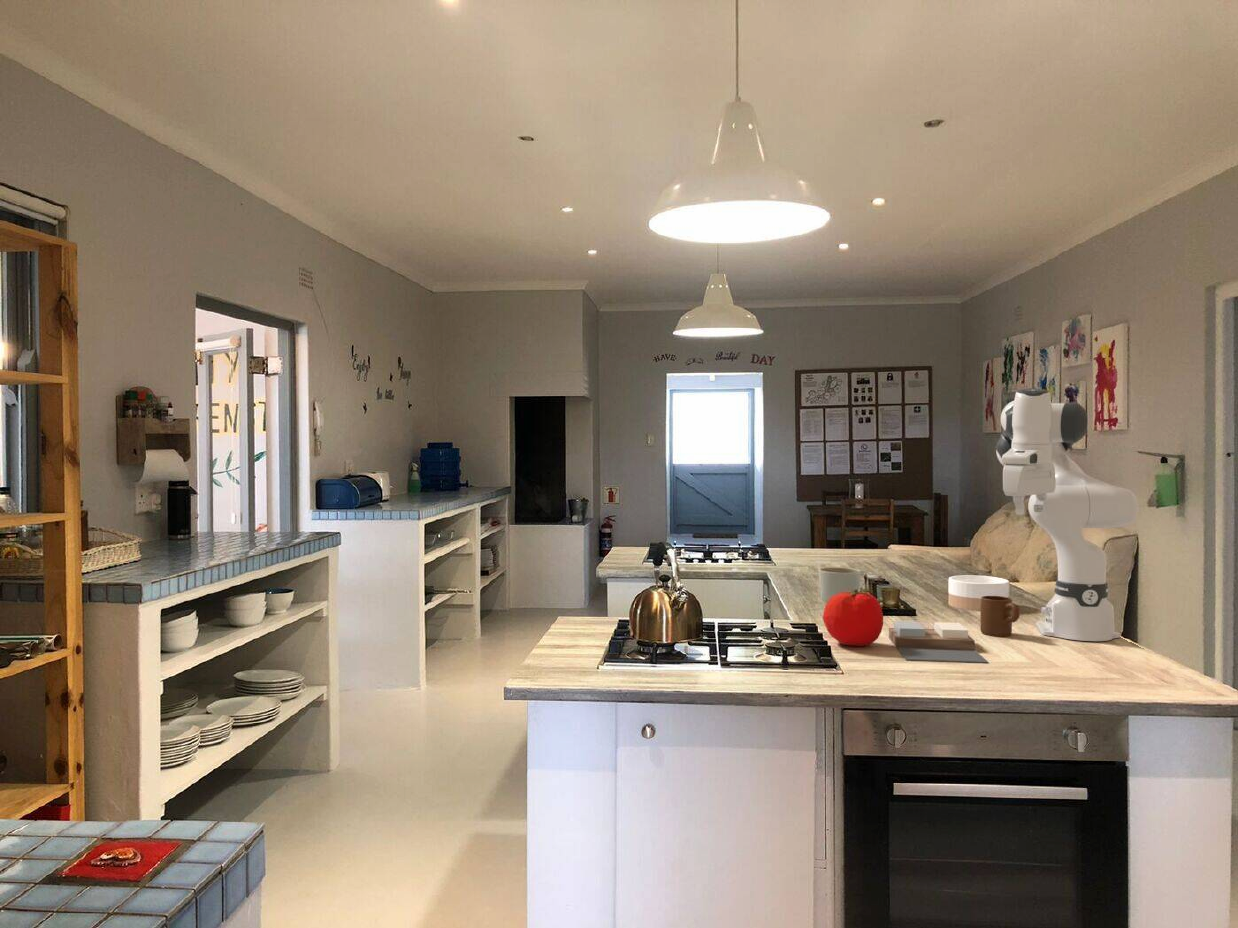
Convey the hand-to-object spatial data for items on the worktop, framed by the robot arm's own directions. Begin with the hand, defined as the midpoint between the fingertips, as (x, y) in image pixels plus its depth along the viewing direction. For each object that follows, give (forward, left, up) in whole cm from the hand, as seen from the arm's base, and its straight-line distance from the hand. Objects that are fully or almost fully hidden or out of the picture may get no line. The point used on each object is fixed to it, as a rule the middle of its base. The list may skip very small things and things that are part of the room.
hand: (1029, 513), depth 215 cm
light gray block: (-3, -27, -30) cm, 41 cm away
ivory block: (-3, -17, -30) cm, 35 cm away
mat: (+10, -22, -33) cm, 41 cm away
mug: (-15, -2, -33) cm, 36 cm away
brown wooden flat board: (-2, -22, -33) cm, 40 cm away
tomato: (+1, -42, -33) cm, 53 cm away
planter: (-53, -39, -33) cm, 74 cm away
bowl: (-58, +3, -33) cm, 67 cm away
